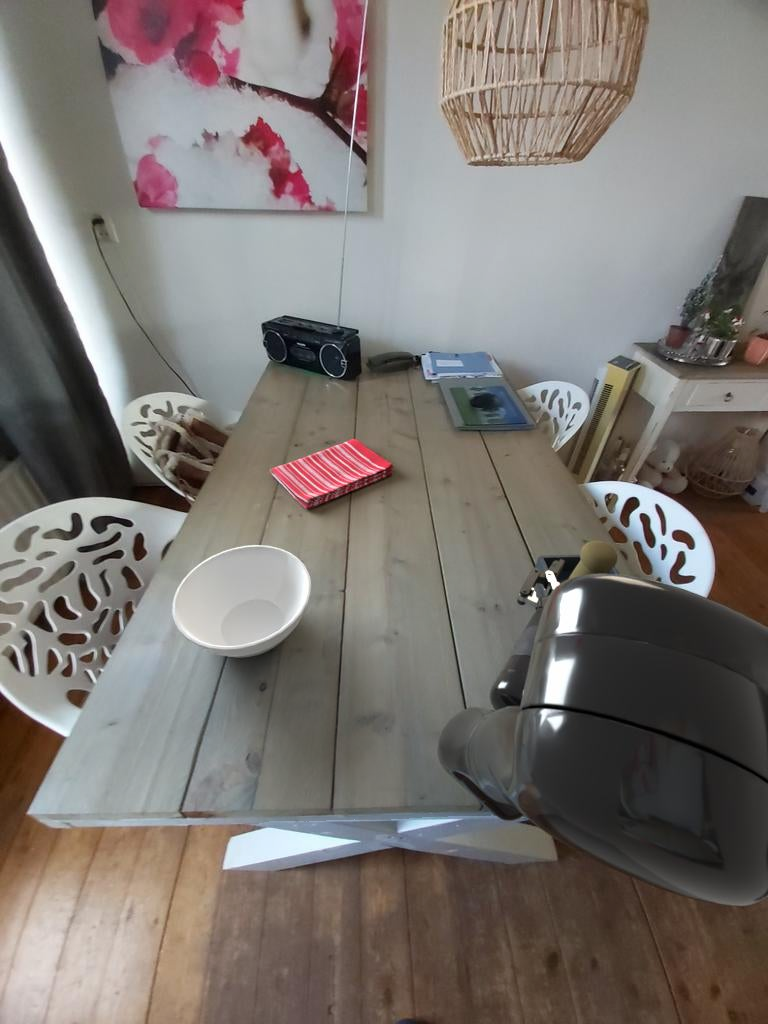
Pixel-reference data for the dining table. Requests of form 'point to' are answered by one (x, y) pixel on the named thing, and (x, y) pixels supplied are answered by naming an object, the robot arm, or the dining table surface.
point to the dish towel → (332, 473)
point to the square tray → (568, 567)
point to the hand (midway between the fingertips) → (589, 576)
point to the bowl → (242, 600)
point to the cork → (595, 559)
